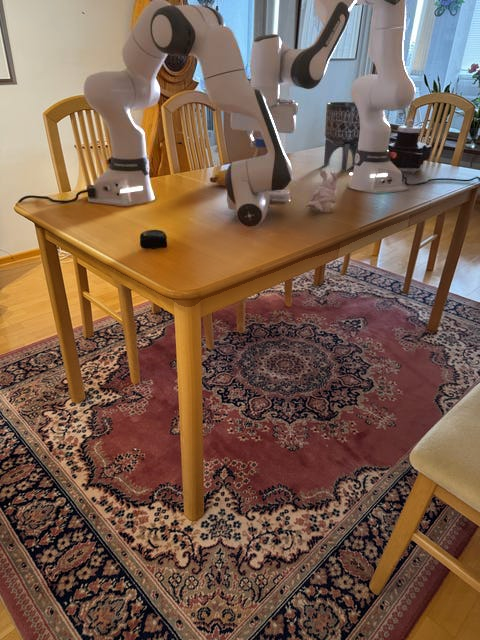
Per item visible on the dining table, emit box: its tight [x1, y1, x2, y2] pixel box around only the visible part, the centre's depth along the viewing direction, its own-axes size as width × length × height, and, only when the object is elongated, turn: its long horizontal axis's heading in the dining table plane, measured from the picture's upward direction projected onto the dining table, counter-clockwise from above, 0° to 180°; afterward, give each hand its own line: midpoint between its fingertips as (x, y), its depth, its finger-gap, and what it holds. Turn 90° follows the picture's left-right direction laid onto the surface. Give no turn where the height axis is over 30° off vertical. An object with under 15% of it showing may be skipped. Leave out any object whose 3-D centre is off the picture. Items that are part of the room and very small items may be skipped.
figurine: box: [305, 168, 338, 213], centre depth 146 cm, size 8×15×13 cm, turn 145°
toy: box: [209, 168, 228, 188], centre depth 176 cm, size 11×6×15 cm
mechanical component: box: [388, 119, 433, 174], centre depth 204 cm, size 22×21×30 cm
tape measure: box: [139, 229, 168, 250], centre depth 117 cm, size 7×7×4 cm
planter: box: [323, 101, 360, 172], centre depth 204 cm, size 20×20×26 cm
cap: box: [254, 136, 266, 148], centre depth 142 cm, size 4×5×2 cm
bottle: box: [252, 147, 268, 158], centre depth 147 cm, size 5×5×21 cm
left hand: (260, 189), depth 150 cm, fingers closed on bottle, 5 cm apart
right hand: (261, 146), depth 143 cm, fingers closed on cap, 4 cm apart
